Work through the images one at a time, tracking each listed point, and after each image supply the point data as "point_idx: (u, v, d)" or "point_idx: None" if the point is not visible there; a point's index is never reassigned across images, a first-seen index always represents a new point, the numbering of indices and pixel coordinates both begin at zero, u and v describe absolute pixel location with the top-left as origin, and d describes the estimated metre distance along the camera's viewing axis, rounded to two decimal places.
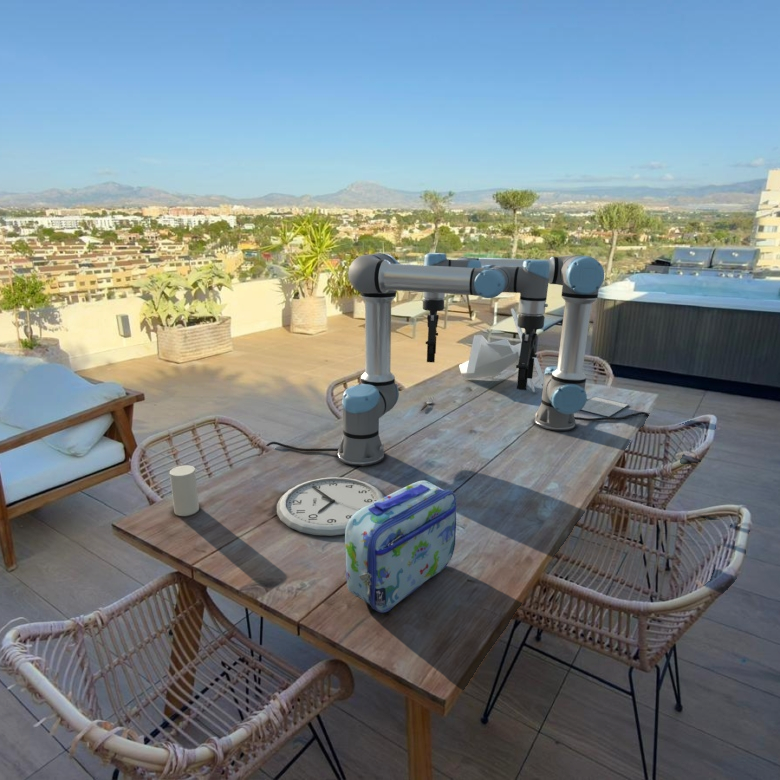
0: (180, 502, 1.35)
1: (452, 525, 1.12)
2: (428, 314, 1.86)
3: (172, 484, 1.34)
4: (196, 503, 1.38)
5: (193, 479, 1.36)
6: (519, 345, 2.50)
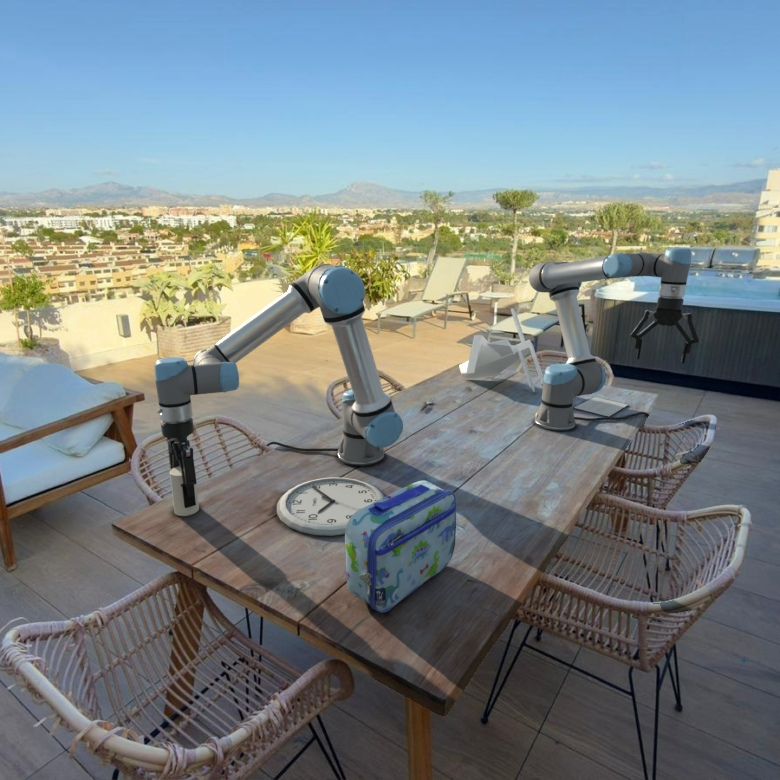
0: (180, 502, 1.35)
1: (452, 525, 1.12)
2: (664, 315, 1.71)
3: (172, 484, 1.34)
4: (196, 503, 1.38)
5: None
6: (519, 345, 2.50)
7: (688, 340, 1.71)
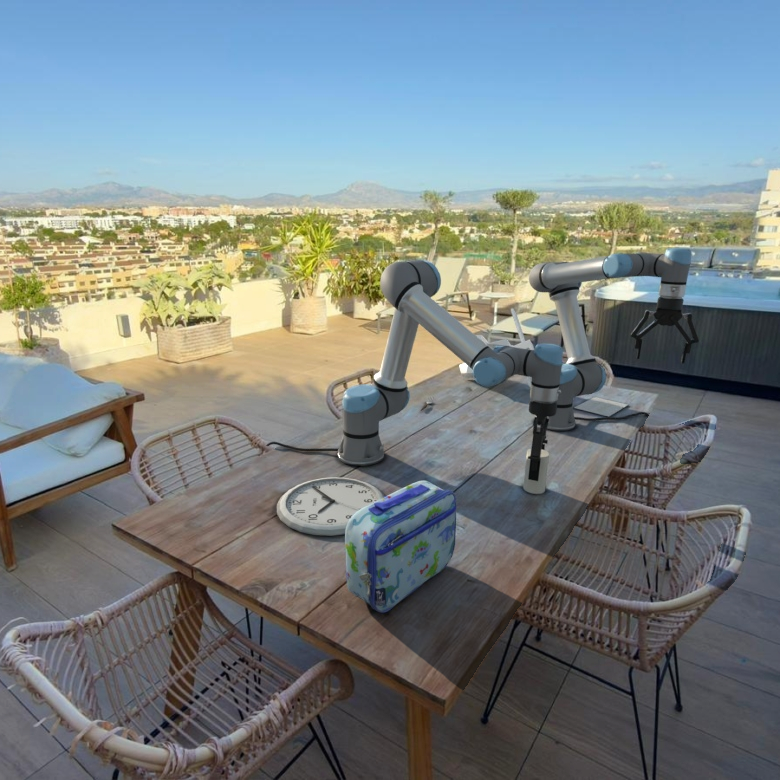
0: None
1: (452, 525, 1.12)
2: (664, 315, 1.71)
3: None
4: None
5: None
6: (519, 345, 2.50)
7: (688, 340, 1.71)
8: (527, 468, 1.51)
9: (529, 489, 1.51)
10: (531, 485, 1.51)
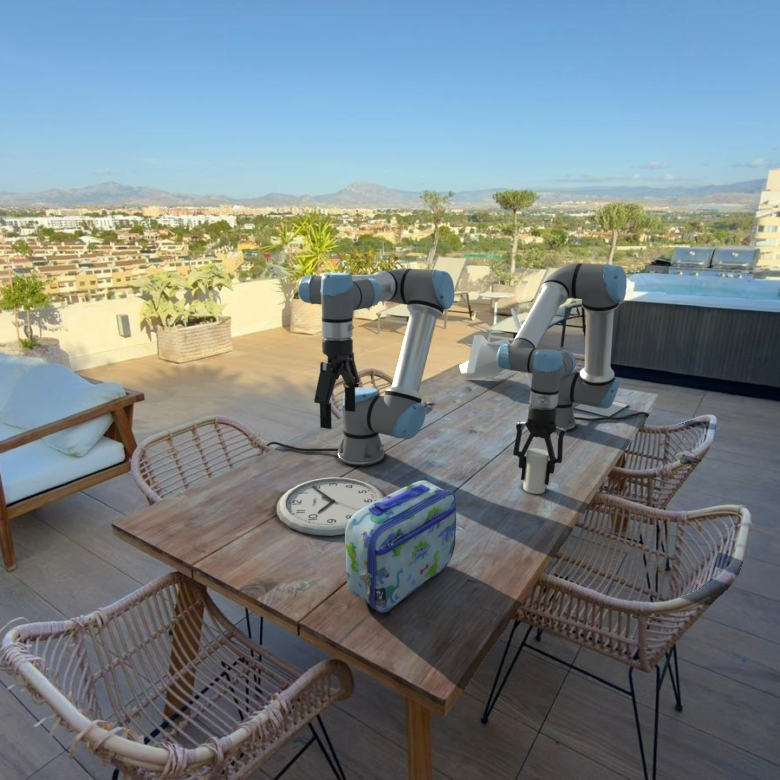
0: None
1: (452, 525, 1.12)
2: (534, 426, 1.47)
3: None
4: None
5: None
6: None
7: (551, 459, 1.48)
8: (527, 468, 1.51)
9: (529, 489, 1.51)
10: (531, 485, 1.51)
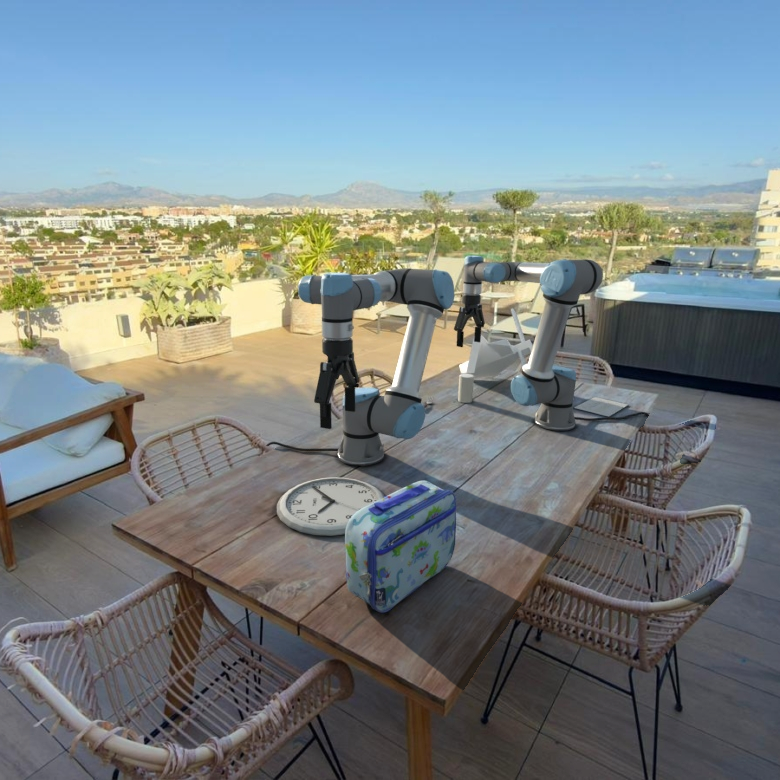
0: (467, 394, 2.27)
1: (452, 525, 1.12)
2: None
3: (463, 383, 2.26)
4: None
5: None
6: (519, 345, 2.50)
7: None
8: None
9: None
10: None
